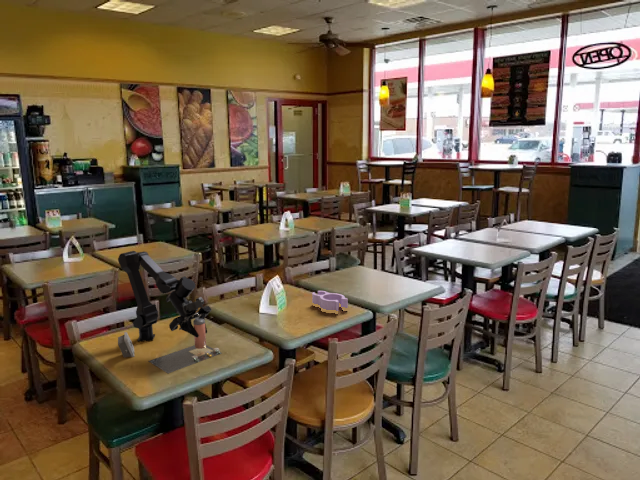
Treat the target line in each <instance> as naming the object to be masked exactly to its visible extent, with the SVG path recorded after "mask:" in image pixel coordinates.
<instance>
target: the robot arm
mask: <svg viewBox="0 0 640 480" xmlns="http://www.w3.org/2000/svg"><path fill="white" fill-rule="evenodd" d="M117 261H118V263H119V266H120V269H121V270H123V272H125V273H126V274H127V277H128V280H129V283H130V286H131V289H132V293H133V296H134V299H135V301H136V304H137V305H136V310H135V315H136V318H135V319H134V321H133V322H132V325H133V328H135V329H138V334H139V335H138V336H139V337H138V338H137V342H150V341H154V338H155V336H156V333H154V330H153V329H154V327H153V325H154V324H157V323H158V319H159V318H158V317H159V311H158V308H157V305H156V304H155V303H152V302H151V301H150V300H149V296H148V294H147V291H146V288H145V285H144V284H145V283H144V281H143V278H142V275H141V271H140V267H142V268H143V269H144V271H146V273H148V274H149V275H150V276H151V277H152V279H153V280H154V282H155V286H156V288H157V289H158V290H159V292H160V293H161V294H164V295H165V294H167V295H166V299H165V302H166V303H168V302H170V303H171V304H172V306H173V307H174V309H175V310H174V312H175V314H178V315H179V316H177V317H175V318H173V320H172V321H171V322H170V323H169V327H168V328H169V330H170V331H171V332H174V331H176V330H178V328H179V331H184V332H186V333H188V334H190V335H192V336H193V337H194V336H195V337H198V336H199V335H198V333H197V332H196V330H195V329H194V324H193V323H192V320H195V319H205V318H206V317H208V315H209V314H210V313H211V311H212V308H211V306H209V305H205V302H206V301H205V300H204V298H203V297H202V296H200V297H197V298H196V299H195V301H192V300H188V299H187V298H189V296H190V294H192V293H193V291H194V290H195V289H196V283H195V281H194V280H193V279H190V278H187V277H186V276H181V277H180V278H179V279H177V278H176V277H175V276H174V275H172V274H171V273H168V272H165V271H164V270H163V269H162V268H161V267H160V266H159V265H158V264H157V263H156V262H155V261H154V259H152V257H150V255H149V253H148V252H147V251H145V250H143V251H135V250H131V251H130V250H129V251H127V252H126V251H125V252H121V253H120V254H119V255H118V258H117ZM170 292H171V293H170ZM168 293H170V294H168ZM207 329H208V328H207V325H206V323H205V333H206V334H207V333H208V330H207Z"/></svg>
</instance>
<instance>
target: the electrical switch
mask: <svg viewBox="0 0 640 480" xmlns="http://www.w3.org/2000/svg"><path fill="white" fill-rule="evenodd" d="M117 346H118V348H119V350H120V352H121V355H122V356H123V358H130V357H131V358H135V347H134V345H133V342H132V340H131V338H130V336H129V334H128V332H127V331H124V334H122V335H120V336H118V337H117Z"/></svg>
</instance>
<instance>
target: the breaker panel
mask: <svg viewBox="0 0 640 480" xmlns="http://www.w3.org/2000/svg"><path fill="white" fill-rule="evenodd" d="M221 354H223V352H221V351H220V348H218V347H215V348H213V347H211V346H209V345H207V344H206V347H205V348H202V349H197V348H195V344H194V345H190V346H188V347H185V348H182V349H179V350H177V351H174V352H172V353H168V354H164V355H162V356H160V357H156V358H153V359H151V360H148V363H150V364H152V365H154V366H155V367H157V368H159V369H160V370H162V371H163V372H165V373H167V374H170V373H173V372H176V371H178V370H181V369H184V368H186V367H189V366H192V365H195V364H197V363H201V362H203V361H206V360H208V359H211V358H213V357H216V356H219V355H221Z"/></svg>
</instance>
